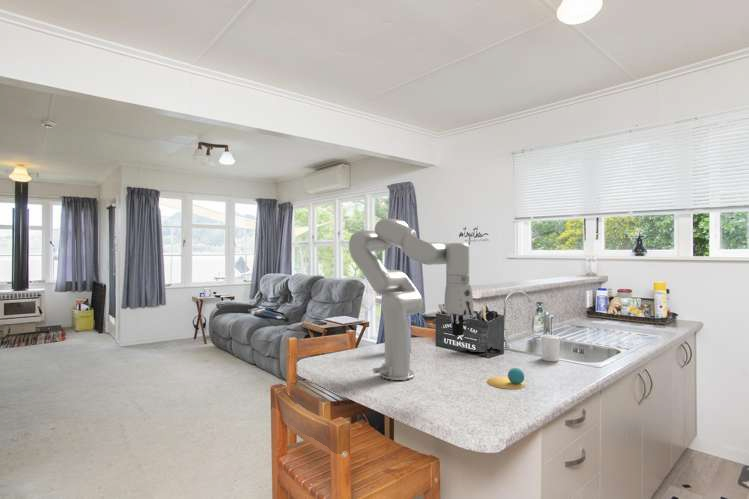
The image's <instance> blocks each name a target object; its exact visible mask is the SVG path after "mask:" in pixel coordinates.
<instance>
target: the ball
mask: <svg viewBox="0 0 749 499" xmlns="http://www.w3.org/2000/svg"><path fill="white" fill-rule="evenodd" d="M507 377H508V379H509V380H510V382H512V383H513V384H520V383H522V382H524V380H525V374H524V372H523V371H522V370H521V369H520V368H518V367H514V368H511V369H510V370H508V373H507Z"/></svg>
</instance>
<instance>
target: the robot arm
mask: <svg viewBox="0 0 749 499" xmlns="http://www.w3.org/2000/svg"><path fill="white" fill-rule="evenodd" d="M394 246H395V247H396V248H398V249H401V250H402V251H403V253H404V255H405V256H407V257H408V258H410V259H411V260H414V261H416V262H417V263H420V264H423V265H426V266H428V265H429V266H430V265H431V266H432V265H445V272H446V273H445V290H444V311H445V312H446V316H448V317H450V319H451V320H450V321H451V324H452V335H453V336H455V337H459V336H464V324H466V319H470V318H471V316H470V315H473V314H474V297H473V290H472V286H471V285H472V284H470V246H469V244H468V243H466V242H465V243H464V242H449V243H448V242H447V243H446V242H432V241H431V242H429V241H425V240H423V239H420V238H418V237H417V232H416V230H415V229H414V228H412V227H410V226H409V225H408V224H407V222H406V221H404V220H402V219H397V218H382V219H380V220H378V221H377V222H376V224H375V225H374V230H359V231H355V232H354V233H353V234H351V236H350V238H349V242H348V249H349V254H350V256H351V259H352V261H353V262H354V263H355V265H356V266H357V267H358V268H359V269H360V271H361V272H362V273H363V275H364V277H365V279H366V280H367V282H368V283H369V284H370V287H371V288H372V290H373V291H374V292H375V293H376V294H377V295H380V296H384V295H385V296H384V297H383V299H382V301H381V312H382V316H383V323H384V327H383V328H384V363H382V364H381V366H380V367H374V368H372V372H373V374H380V377H381V376H382V377H383V379H384V378H386V379H385V380H387V379H391V380H390V381H393V380H403V381H408V380H407V379H409V380H411V378H412V379H413V378H414V377H415V372H414V371H413V370H411V354H410V328H409V324H408V321H407V319H406V316H413V315H416V314H419V313H420V312H421V311H422V310H423V305H424V302H423V298H422V295H421V294H420V292H419V291H418V289H417V288H416V286H415V285H414V284H413V282H412V280H411V279H410V278H409V277H408V275H407V274H406V273H404V272H403V271H402V270H399V269H387V268H386V267H385V266H384V264H383V262H382V261H381V259H380V258H379V257H377V256H376V255H375V254H374V253H372V252H384V251H387V250H389V249H390V248H392V247H394ZM382 377H381V378H382Z"/></svg>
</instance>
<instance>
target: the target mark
mask: <svg viewBox="0 0 749 499" xmlns="http://www.w3.org/2000/svg"><path fill="white" fill-rule="evenodd" d="M486 382H487V384H488V385H489V386H492V387H494V388H498V389H504V390H520V389H522V388H525V387H526V382H524V381H523V382H522V383H520V384H513V383H512V382H510V380H509V379H508V376H496V377H489V378H488V379H487V380H486Z"/></svg>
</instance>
